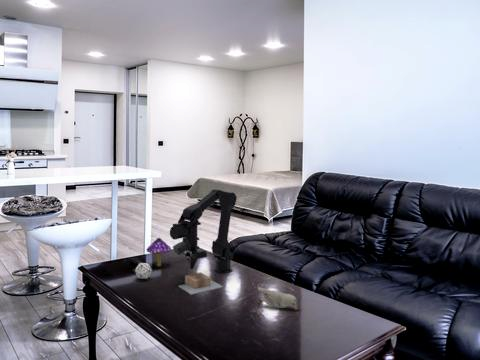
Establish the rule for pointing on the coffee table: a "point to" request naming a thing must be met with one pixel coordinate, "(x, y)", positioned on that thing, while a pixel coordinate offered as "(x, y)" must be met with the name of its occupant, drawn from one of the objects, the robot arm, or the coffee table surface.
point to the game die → (143, 270)
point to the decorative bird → (277, 299)
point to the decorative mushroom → (158, 249)
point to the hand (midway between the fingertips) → (191, 268)
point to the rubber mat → (199, 290)
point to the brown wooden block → (197, 280)
